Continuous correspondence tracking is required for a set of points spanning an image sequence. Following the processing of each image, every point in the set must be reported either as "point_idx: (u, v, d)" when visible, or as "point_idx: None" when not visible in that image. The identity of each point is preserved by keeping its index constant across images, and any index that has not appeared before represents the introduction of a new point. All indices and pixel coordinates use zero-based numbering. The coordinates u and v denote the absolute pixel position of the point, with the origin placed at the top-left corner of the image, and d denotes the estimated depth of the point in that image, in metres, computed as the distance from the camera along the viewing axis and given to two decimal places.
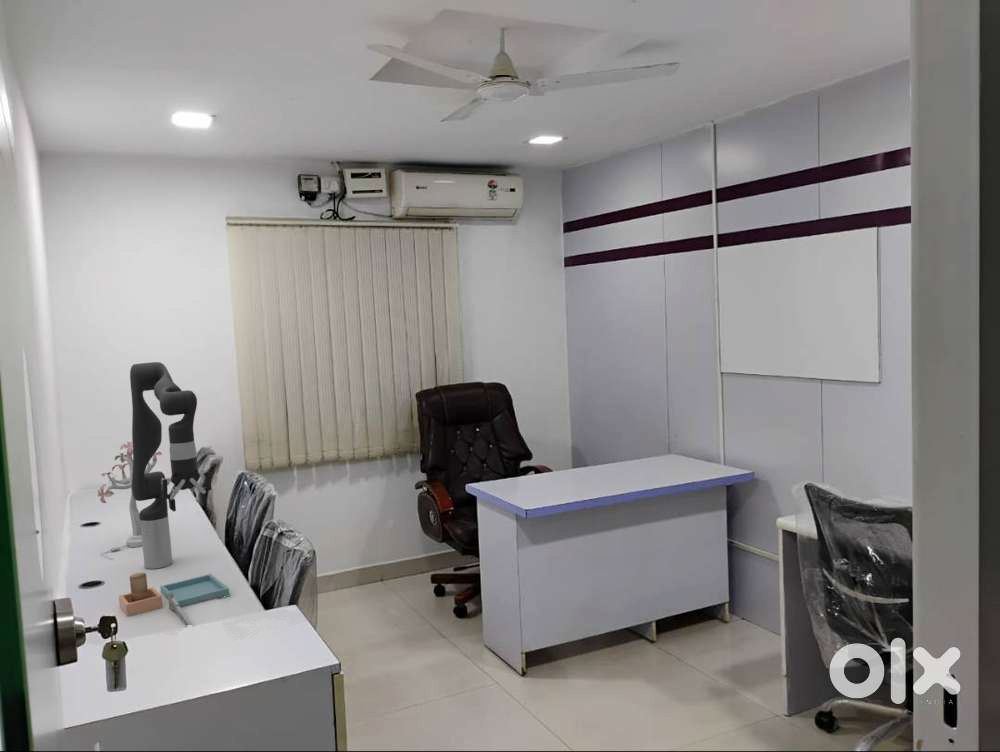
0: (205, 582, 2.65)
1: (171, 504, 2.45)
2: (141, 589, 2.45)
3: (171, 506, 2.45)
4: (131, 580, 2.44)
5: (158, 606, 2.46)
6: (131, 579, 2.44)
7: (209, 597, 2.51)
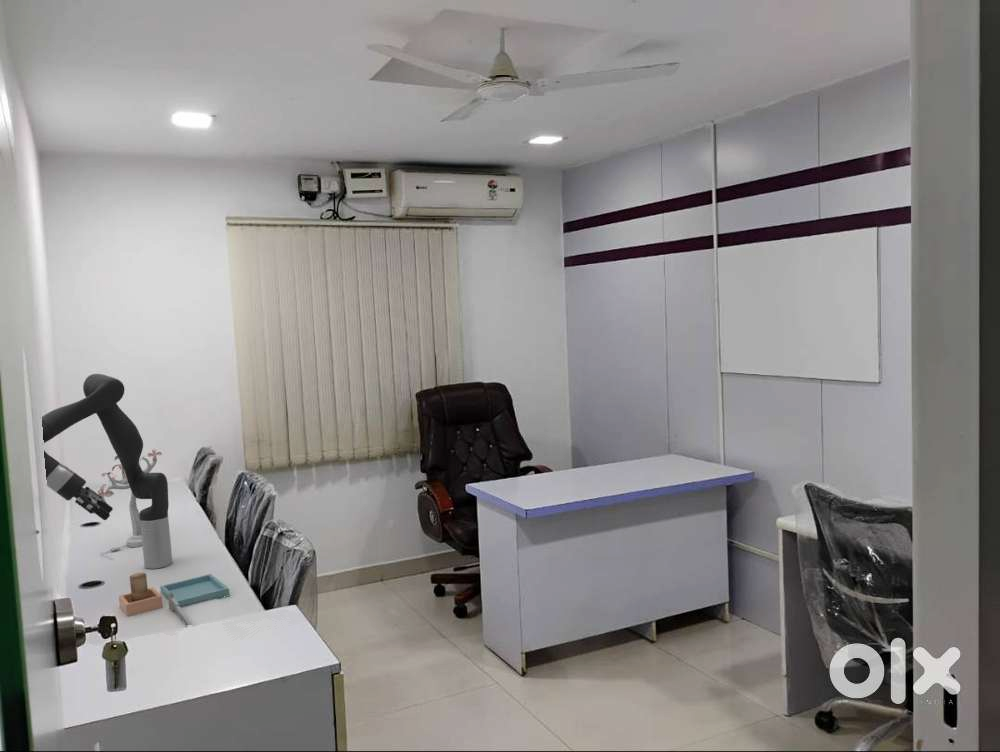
0: (205, 582, 2.65)
1: None
2: (141, 589, 2.45)
3: None
4: (131, 580, 2.44)
5: (158, 606, 2.46)
6: (131, 579, 2.44)
7: (209, 597, 2.51)
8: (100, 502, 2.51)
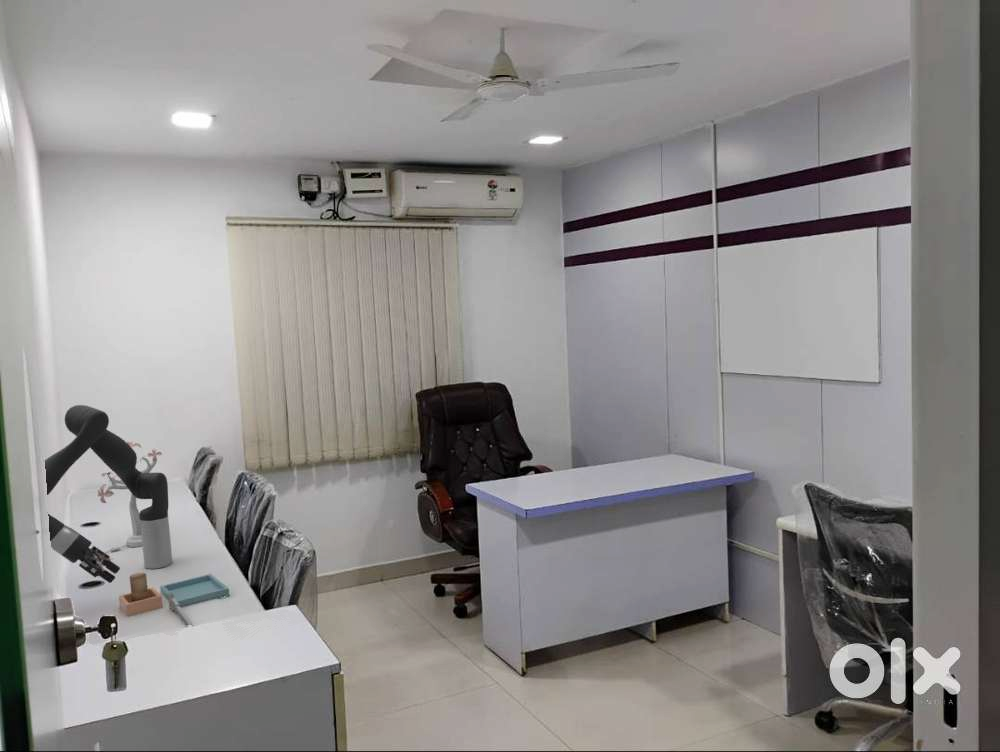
0: (205, 582, 2.65)
1: None
2: (141, 589, 2.45)
3: None
4: (131, 580, 2.44)
5: (158, 606, 2.46)
6: (131, 579, 2.44)
7: (209, 597, 2.51)
8: (107, 562, 2.47)
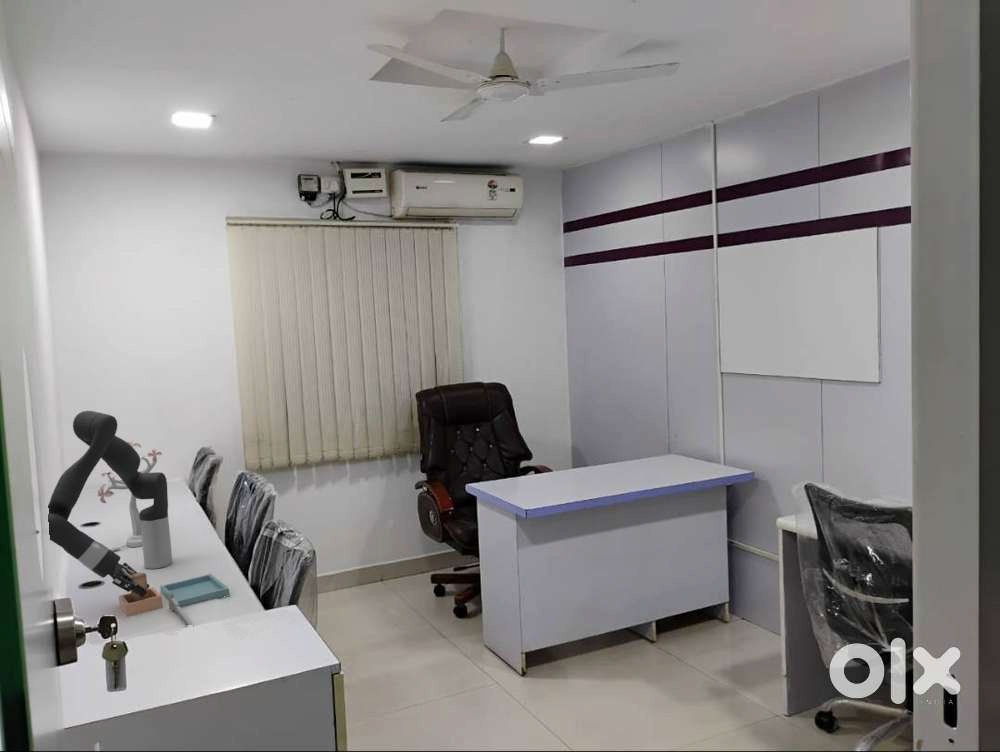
0: (205, 582, 2.65)
1: None
2: None
3: None
4: None
5: (158, 606, 2.46)
6: None
7: (209, 597, 2.51)
8: None
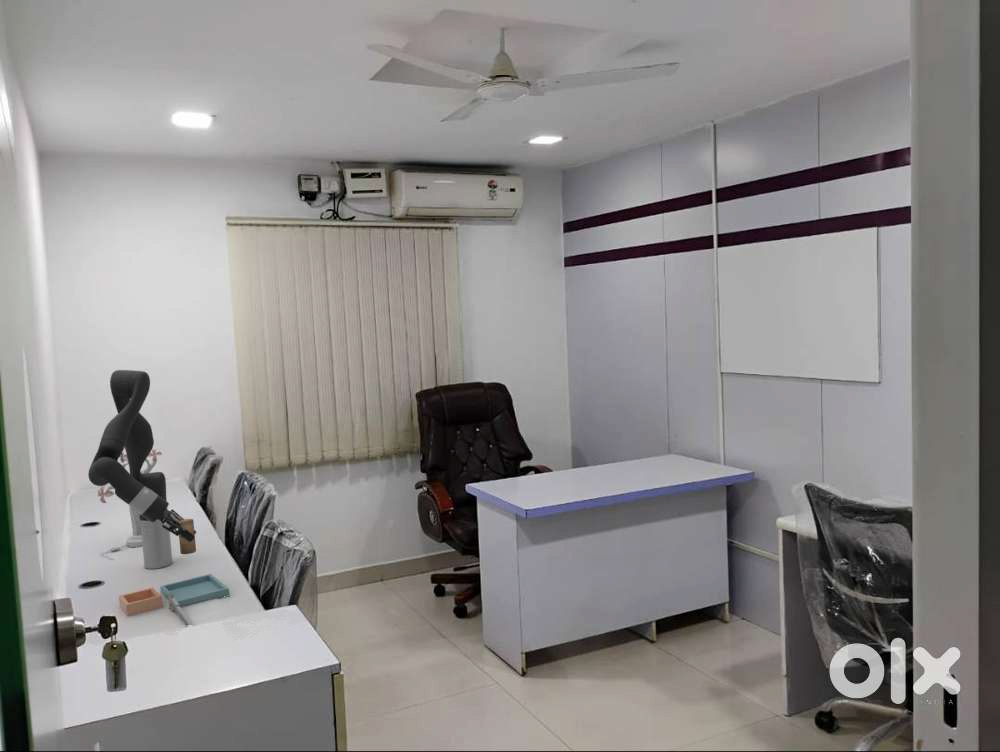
0: (205, 582, 2.65)
1: None
2: None
3: None
4: None
5: (158, 606, 2.46)
6: None
7: (209, 597, 2.51)
8: None
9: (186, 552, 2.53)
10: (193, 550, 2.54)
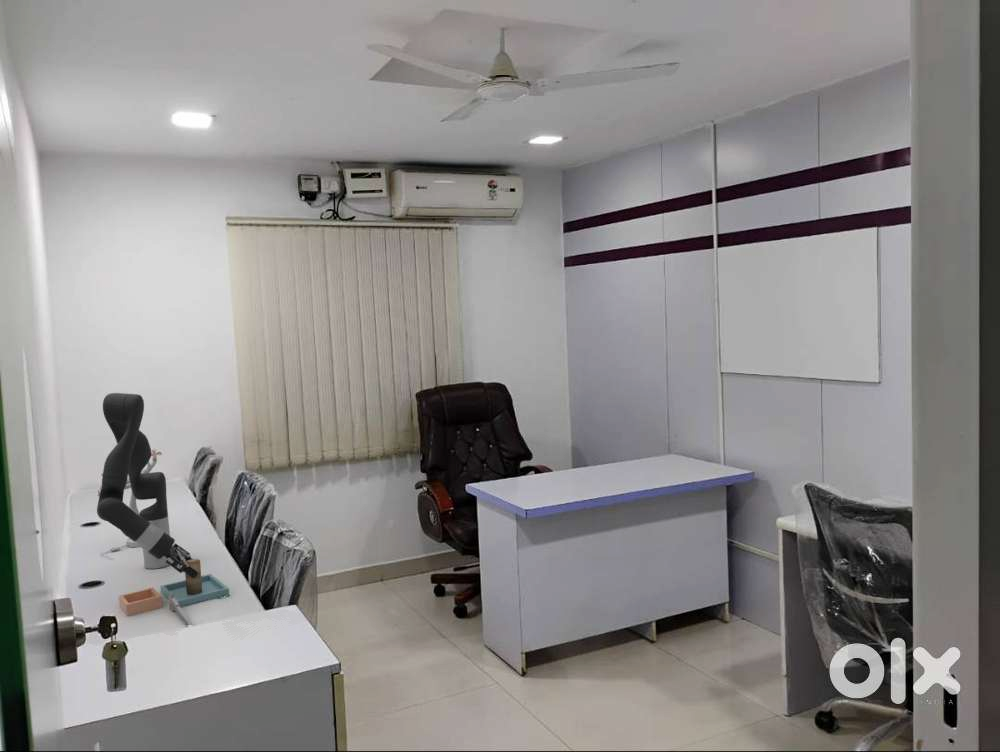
0: (205, 582, 2.65)
1: None
2: None
3: None
4: None
5: (158, 606, 2.46)
6: None
7: (209, 597, 2.51)
8: (188, 559, 2.59)
9: (192, 592, 2.54)
10: (199, 590, 2.56)
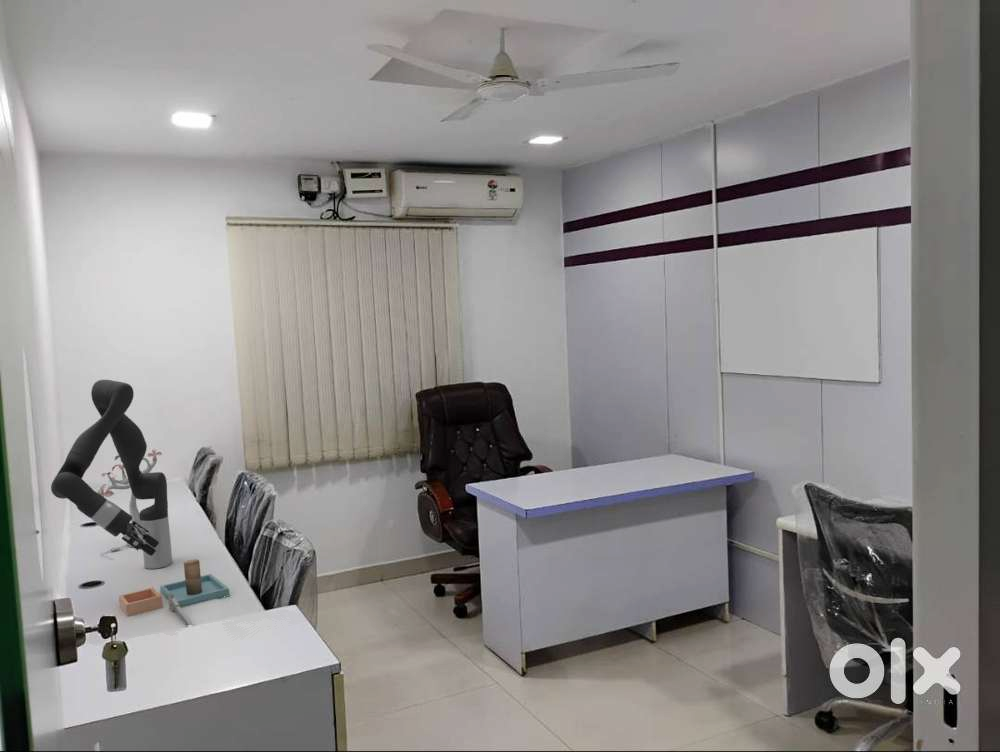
0: (205, 582, 2.65)
1: None
2: (194, 575, 2.54)
3: None
4: (185, 566, 2.54)
5: (158, 606, 2.46)
6: (185, 565, 2.54)
7: (209, 597, 2.51)
8: (146, 536, 2.55)
9: (192, 593, 2.54)
10: (199, 591, 2.56)
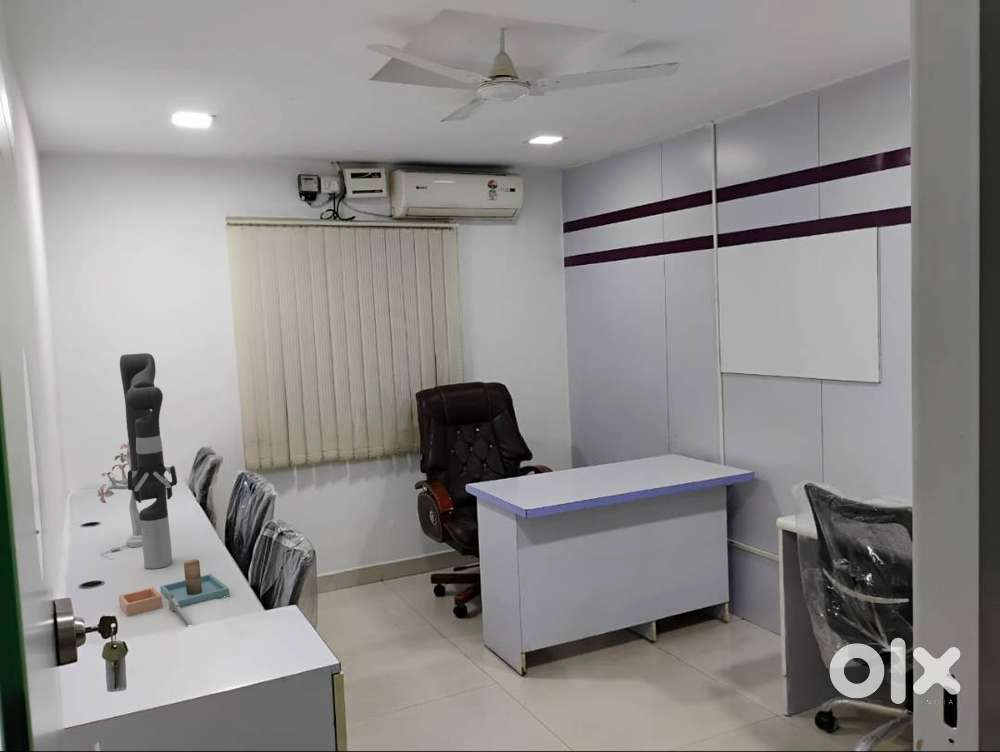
0: (205, 582, 2.65)
1: (136, 495, 2.55)
2: (194, 575, 2.54)
3: (136, 497, 2.55)
4: (185, 566, 2.54)
5: (158, 606, 2.46)
6: (185, 565, 2.54)
7: (209, 597, 2.51)
8: (139, 489, 2.56)
9: (192, 593, 2.54)
10: (199, 591, 2.56)
